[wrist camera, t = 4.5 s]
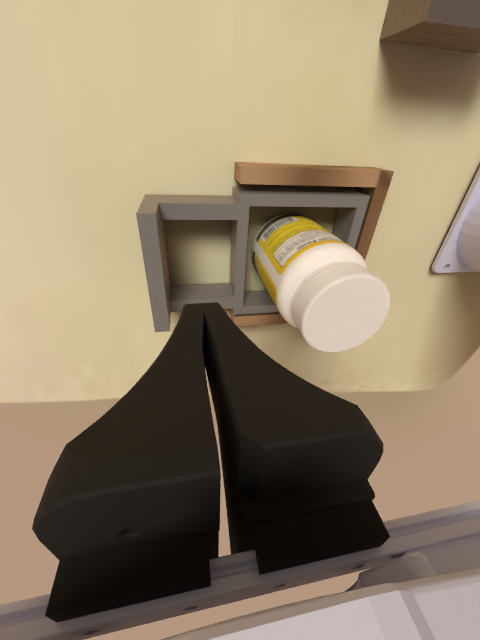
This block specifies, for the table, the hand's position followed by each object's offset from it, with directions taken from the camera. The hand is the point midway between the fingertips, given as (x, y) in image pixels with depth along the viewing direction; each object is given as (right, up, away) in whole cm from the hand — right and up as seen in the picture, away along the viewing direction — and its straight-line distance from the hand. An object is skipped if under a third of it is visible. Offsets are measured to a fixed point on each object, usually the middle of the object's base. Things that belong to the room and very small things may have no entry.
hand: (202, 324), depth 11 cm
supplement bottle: (+4, +5, +8) cm, 10 cm away
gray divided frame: (+2, +5, +7) cm, 9 cm away
